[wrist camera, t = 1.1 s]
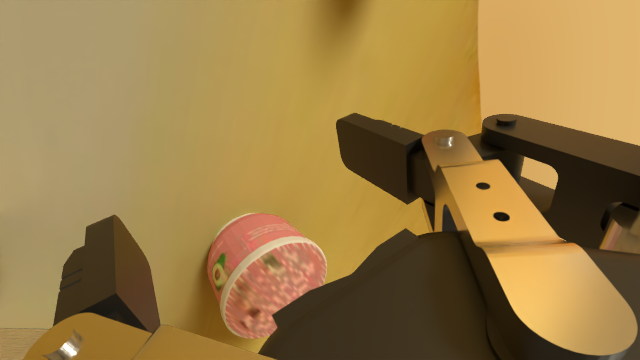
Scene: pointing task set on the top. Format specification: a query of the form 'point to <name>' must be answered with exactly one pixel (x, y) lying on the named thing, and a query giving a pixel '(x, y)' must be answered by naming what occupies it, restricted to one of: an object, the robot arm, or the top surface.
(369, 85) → the top surface
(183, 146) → the top surface
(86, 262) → the robot arm
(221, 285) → the container
